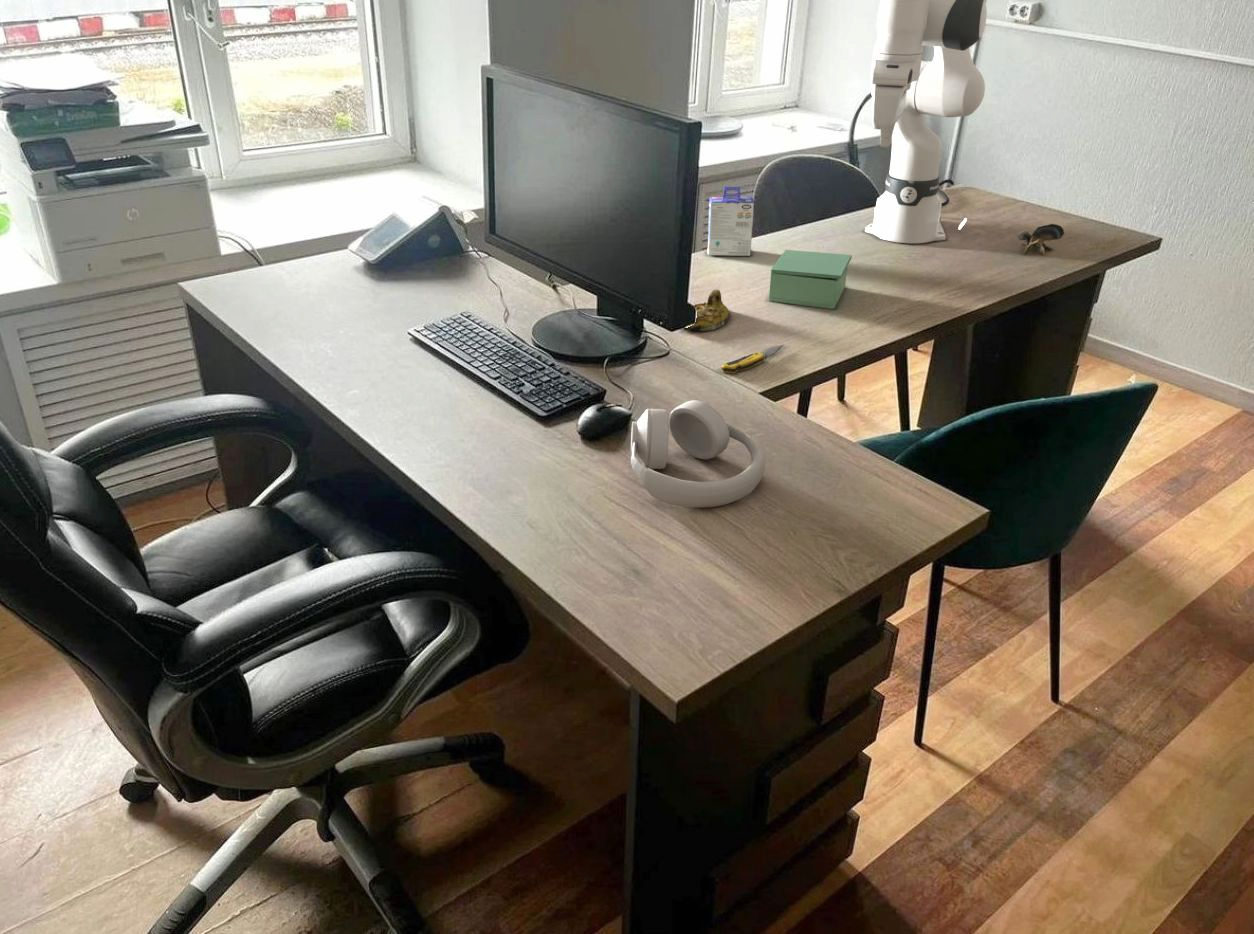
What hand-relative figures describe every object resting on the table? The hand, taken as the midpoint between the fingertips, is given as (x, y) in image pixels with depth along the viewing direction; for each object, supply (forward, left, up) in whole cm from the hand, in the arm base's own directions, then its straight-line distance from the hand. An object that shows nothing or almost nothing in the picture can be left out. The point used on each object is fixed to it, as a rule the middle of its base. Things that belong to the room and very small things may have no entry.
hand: (885, 145), depth 192 cm
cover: (+6, -11, -23) cm, 26 cm away
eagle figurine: (-40, +33, -29) cm, 60 cm away
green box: (+6, -11, -29) cm, 32 cm away
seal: (+28, -27, -29) cm, 49 cm away
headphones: (+85, -12, -29) cm, 91 cm away
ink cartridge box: (-14, -33, -29) cm, 46 cm away
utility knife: (+43, -13, -29) cm, 54 cm away
